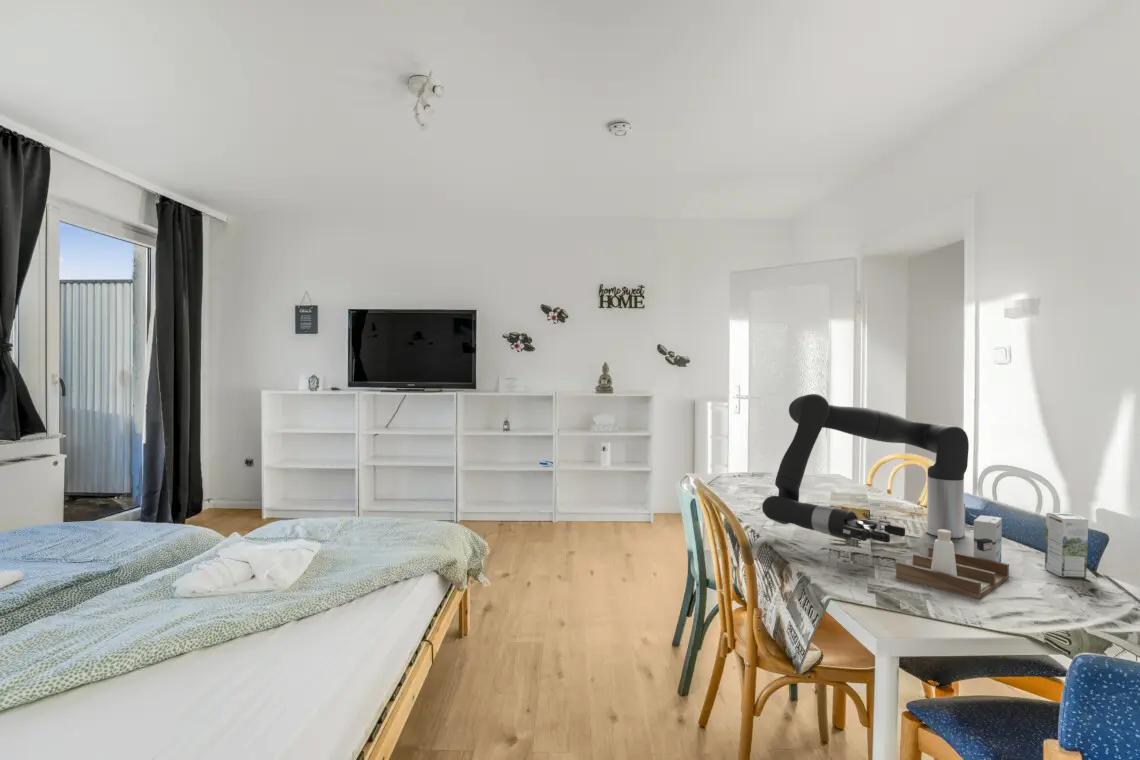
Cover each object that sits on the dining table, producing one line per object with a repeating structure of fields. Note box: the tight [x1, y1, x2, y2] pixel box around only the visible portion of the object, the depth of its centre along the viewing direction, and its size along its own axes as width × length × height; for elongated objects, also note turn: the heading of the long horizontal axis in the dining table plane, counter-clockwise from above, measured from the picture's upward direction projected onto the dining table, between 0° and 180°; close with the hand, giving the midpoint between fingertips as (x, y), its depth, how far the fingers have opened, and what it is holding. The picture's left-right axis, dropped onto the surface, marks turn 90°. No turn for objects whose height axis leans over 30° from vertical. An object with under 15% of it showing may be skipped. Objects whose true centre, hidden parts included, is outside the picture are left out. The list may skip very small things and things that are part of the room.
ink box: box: [973, 514, 1003, 563], centre depth 148 cm, size 8×5×12 cm, turn 135°
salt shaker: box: [931, 529, 957, 576], centre depth 135 cm, size 5×5×11 cm
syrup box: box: [1044, 512, 1089, 579], centre depth 140 cm, size 6×6×14 cm
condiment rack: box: [895, 546, 1010, 600], centre depth 138 cm, size 20×17×4 cm
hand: (897, 535), depth 143 cm, fingers open, 8 cm apart
